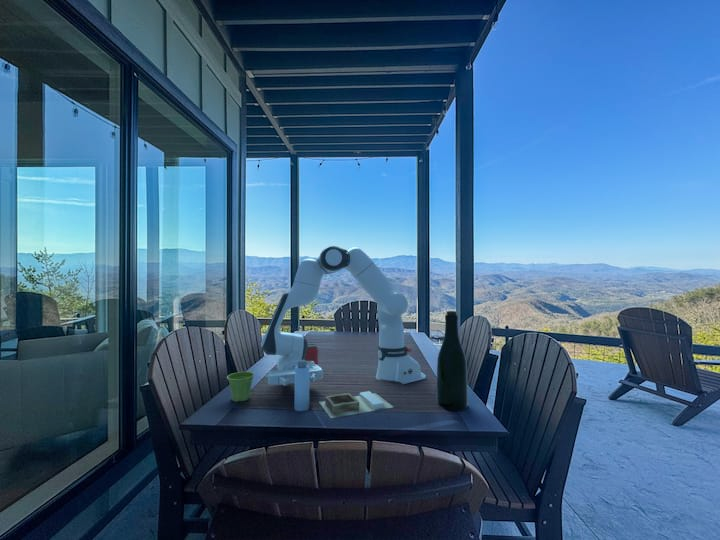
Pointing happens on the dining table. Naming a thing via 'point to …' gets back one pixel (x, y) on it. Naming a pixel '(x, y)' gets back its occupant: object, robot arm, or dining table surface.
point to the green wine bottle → (452, 368)
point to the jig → (348, 405)
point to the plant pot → (240, 385)
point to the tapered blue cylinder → (301, 386)
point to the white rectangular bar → (372, 400)
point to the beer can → (312, 353)
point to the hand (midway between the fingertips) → (299, 381)
